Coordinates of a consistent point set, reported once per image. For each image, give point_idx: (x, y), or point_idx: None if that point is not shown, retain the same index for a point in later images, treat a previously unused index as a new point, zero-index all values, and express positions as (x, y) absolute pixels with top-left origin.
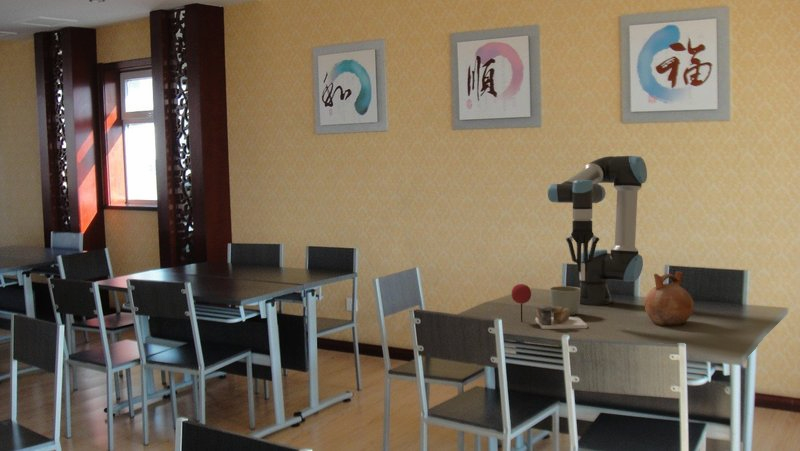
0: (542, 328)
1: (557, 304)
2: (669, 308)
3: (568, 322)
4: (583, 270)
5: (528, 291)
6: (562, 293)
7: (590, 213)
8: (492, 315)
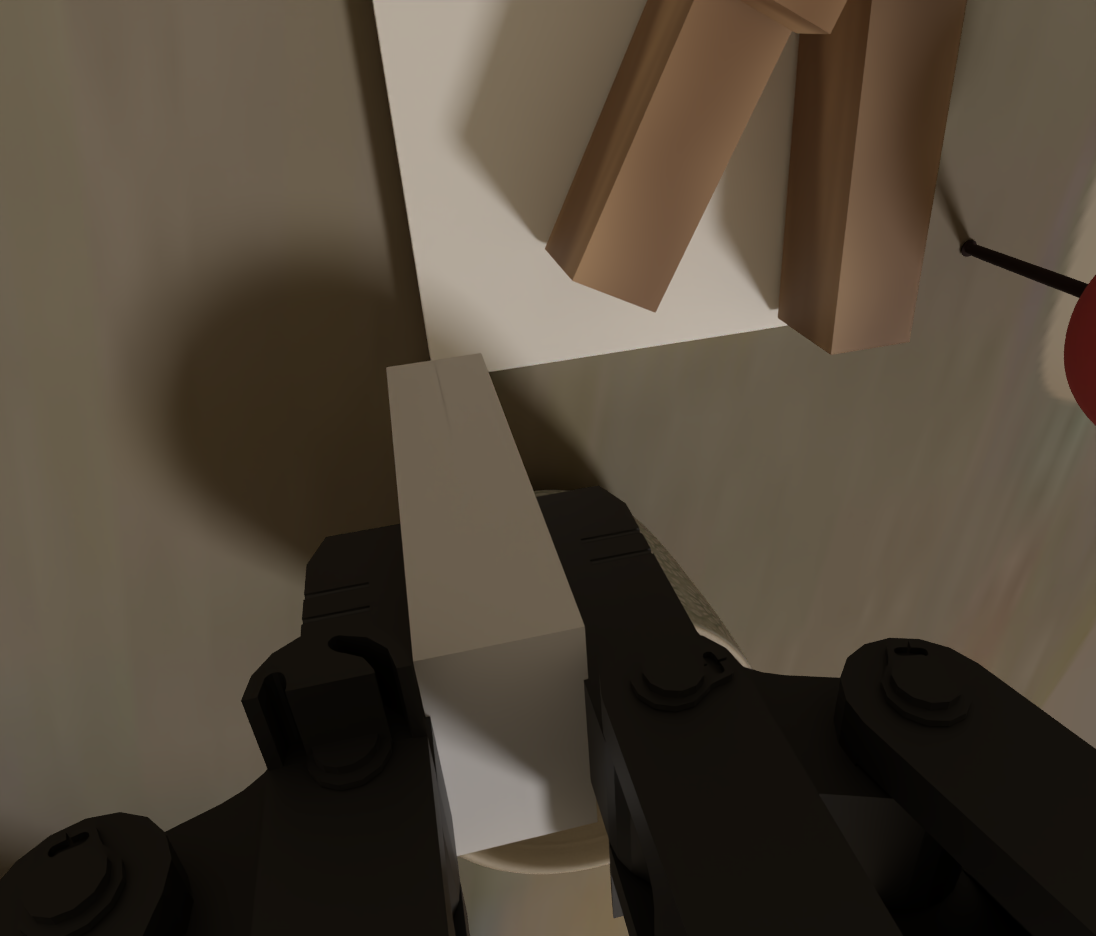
0: None
1: (650, 538)
2: None
3: (574, 38)
4: (447, 494)
5: None
6: None
7: None
8: (1089, 482)
